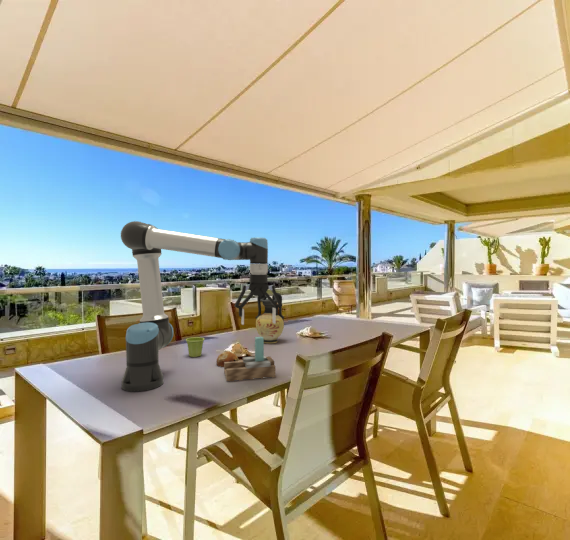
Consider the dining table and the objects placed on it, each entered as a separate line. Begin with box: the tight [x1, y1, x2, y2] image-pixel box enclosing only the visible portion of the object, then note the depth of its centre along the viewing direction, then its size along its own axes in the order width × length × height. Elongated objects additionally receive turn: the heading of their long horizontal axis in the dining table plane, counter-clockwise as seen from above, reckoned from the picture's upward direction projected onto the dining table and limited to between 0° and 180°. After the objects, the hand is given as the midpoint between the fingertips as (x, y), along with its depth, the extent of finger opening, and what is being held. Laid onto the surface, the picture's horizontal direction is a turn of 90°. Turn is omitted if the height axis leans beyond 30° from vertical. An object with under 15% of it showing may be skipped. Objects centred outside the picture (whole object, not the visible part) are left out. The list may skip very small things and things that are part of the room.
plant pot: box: [185, 336, 205, 358], centre depth 180 cm, size 9×9×9 cm
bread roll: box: [215, 350, 240, 368], centre depth 164 cm, size 10×10×8 cm
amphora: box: [255, 292, 285, 344], centre depth 211 cm, size 18×17×30 cm
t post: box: [254, 336, 265, 362], centre depth 148 cm, size 6×6×14 cm
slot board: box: [223, 355, 276, 382], centre depth 147 cm, size 20×12×6 cm, turn 105°
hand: (258, 323), depth 148 cm, fingers open, 13 cm apart
